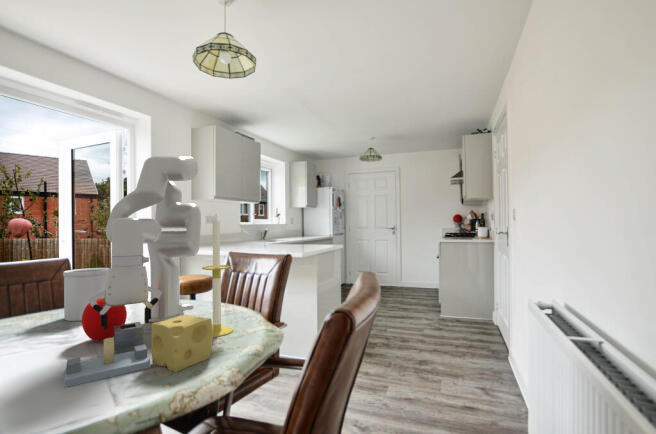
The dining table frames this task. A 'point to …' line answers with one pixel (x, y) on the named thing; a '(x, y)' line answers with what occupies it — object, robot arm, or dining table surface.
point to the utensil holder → (81, 290)
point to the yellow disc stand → (217, 283)
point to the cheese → (181, 341)
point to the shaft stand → (106, 364)
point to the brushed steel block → (127, 337)
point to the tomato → (93, 320)
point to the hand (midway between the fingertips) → (126, 325)
